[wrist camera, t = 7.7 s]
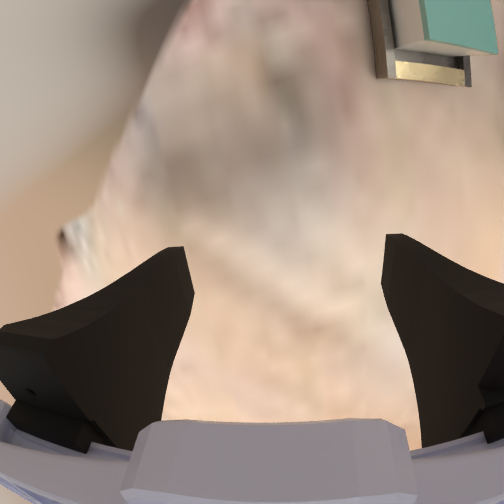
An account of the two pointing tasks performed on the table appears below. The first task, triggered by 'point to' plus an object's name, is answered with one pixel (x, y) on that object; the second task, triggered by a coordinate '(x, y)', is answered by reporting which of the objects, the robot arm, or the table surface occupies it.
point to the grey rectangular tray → (412, 56)
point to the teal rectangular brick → (443, 26)
